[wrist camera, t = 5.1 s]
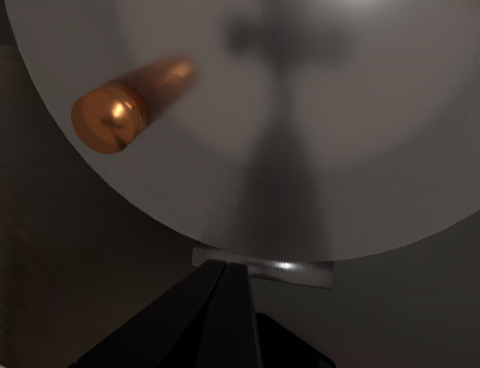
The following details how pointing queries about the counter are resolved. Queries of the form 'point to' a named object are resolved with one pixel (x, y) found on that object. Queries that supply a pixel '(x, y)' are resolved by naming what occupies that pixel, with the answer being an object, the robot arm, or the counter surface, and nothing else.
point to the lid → (270, 118)
